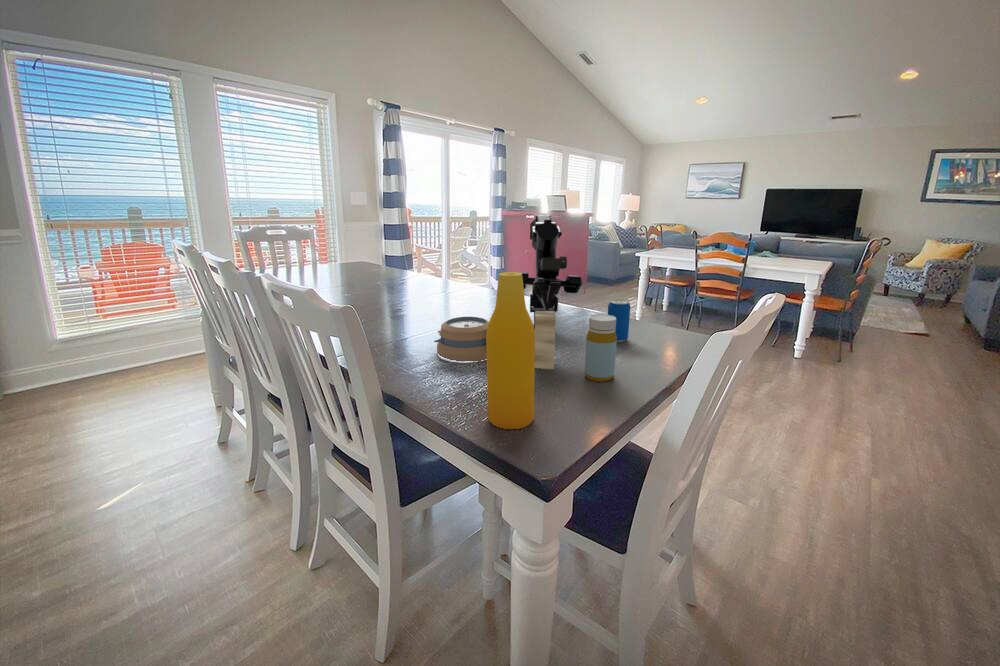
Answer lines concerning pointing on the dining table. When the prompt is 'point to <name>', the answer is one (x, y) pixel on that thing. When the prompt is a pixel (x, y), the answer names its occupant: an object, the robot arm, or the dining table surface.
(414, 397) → the dining table surface
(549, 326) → the block
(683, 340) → the dining table surface
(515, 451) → the dining table surface
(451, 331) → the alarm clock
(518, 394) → the beer bottle
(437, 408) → the dining table surface
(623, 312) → the beverage can
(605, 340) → the bottle
